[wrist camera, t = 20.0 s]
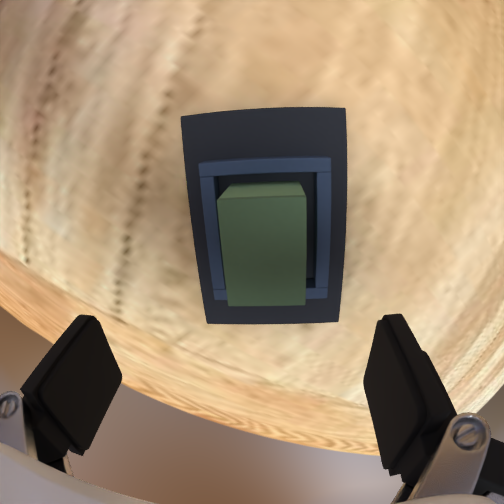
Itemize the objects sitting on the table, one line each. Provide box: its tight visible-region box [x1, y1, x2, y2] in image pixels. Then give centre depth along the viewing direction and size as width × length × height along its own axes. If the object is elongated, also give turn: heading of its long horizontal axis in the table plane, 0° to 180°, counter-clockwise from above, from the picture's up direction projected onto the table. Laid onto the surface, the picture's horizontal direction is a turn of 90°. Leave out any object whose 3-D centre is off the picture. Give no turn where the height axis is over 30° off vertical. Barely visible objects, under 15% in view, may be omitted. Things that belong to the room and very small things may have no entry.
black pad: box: [181, 107, 347, 324], centre depth 22 cm, size 18×12×3 cm, turn 4°
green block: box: [217, 181, 307, 306], centre depth 20 cm, size 7×5×6 cm
